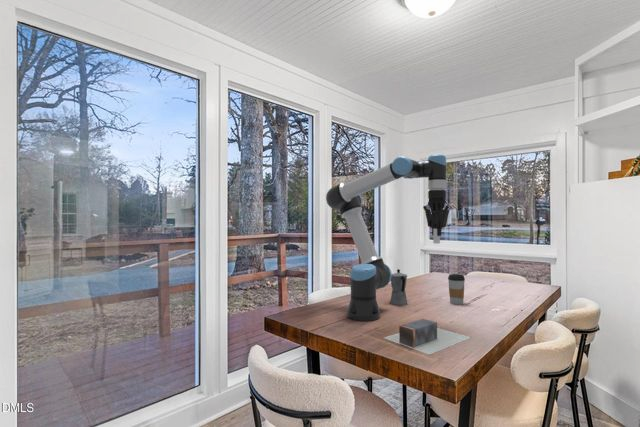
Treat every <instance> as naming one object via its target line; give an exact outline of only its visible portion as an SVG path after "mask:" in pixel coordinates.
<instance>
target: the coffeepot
mask: <svg viewBox="0 0 640 427" xmlns="http://www.w3.org/2000/svg"><path fill="white" fill-rule="evenodd" d="M400 271H401V269H397V270H396V272H395V273H392V278H391V281H390V284H391V288H392V290H391V296H390V304H391V305H393V306H406V305H408V300H407V298H408V297H407V293H406V285H407V279H408V274H405V273H402V272H400Z"/></svg>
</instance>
